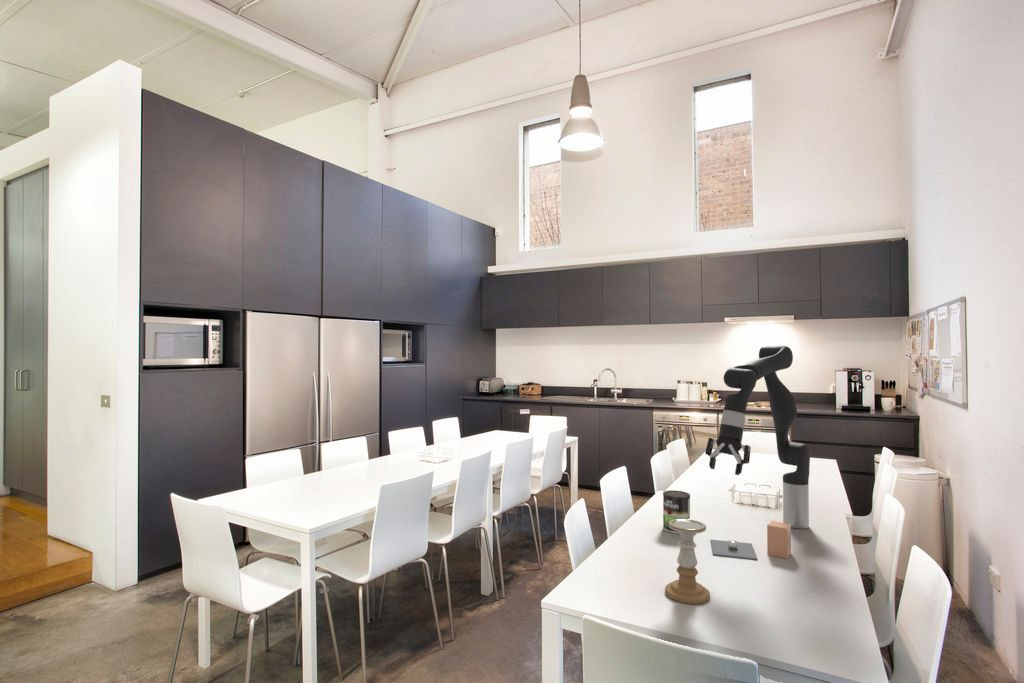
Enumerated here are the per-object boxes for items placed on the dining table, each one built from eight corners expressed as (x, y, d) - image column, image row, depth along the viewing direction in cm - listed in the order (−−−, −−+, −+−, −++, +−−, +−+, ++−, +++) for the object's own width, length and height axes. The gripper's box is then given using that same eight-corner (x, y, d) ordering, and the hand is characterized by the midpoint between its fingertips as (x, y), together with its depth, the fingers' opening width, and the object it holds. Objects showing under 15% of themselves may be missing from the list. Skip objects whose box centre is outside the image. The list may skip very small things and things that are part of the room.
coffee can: (680, 535, 205) (680, 498, 205) (657, 529, 213) (657, 493, 213) (695, 530, 212) (695, 494, 212) (672, 523, 219) (672, 488, 220)
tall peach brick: (771, 549, 191) (771, 520, 192) (790, 553, 187) (790, 524, 188) (767, 554, 186) (767, 525, 187) (787, 558, 183) (786, 528, 183)
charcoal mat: (710, 540, 200) (710, 539, 200) (751, 544, 195) (751, 543, 196) (713, 555, 185) (713, 553, 185) (757, 560, 181) (757, 558, 181)
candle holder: (719, 601, 151) (719, 528, 151) (681, 607, 147) (680, 532, 148) (692, 583, 163) (692, 516, 163) (656, 588, 159) (656, 519, 159)
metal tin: (727, 546, 192) (727, 539, 192) (737, 547, 191) (736, 540, 191) (728, 549, 189) (728, 542, 189) (737, 550, 189) (737, 543, 189)
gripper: (757, 430, 185) (749, 477, 183) (716, 422, 195) (708, 467, 192) (749, 427, 179) (741, 476, 177) (707, 420, 189) (699, 466, 187)
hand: (724, 471), depth 185 cm, fingers open, 8 cm apart
